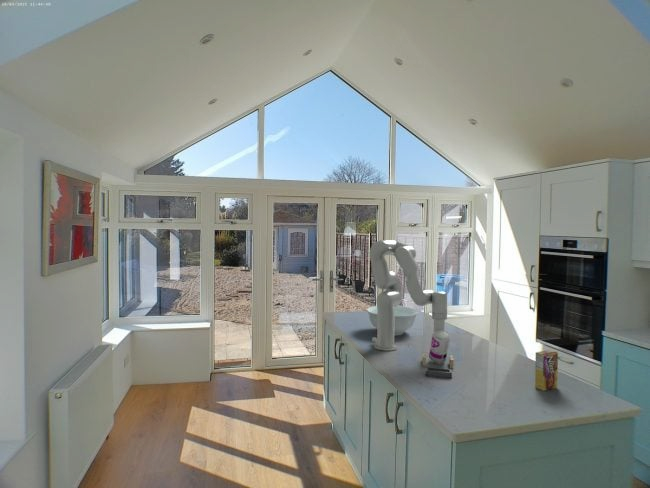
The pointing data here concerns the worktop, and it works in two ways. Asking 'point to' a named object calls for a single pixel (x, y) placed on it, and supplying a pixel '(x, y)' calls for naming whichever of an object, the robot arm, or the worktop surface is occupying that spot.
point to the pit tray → (438, 372)
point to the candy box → (546, 370)
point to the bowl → (396, 318)
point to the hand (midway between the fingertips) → (439, 351)
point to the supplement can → (439, 346)
